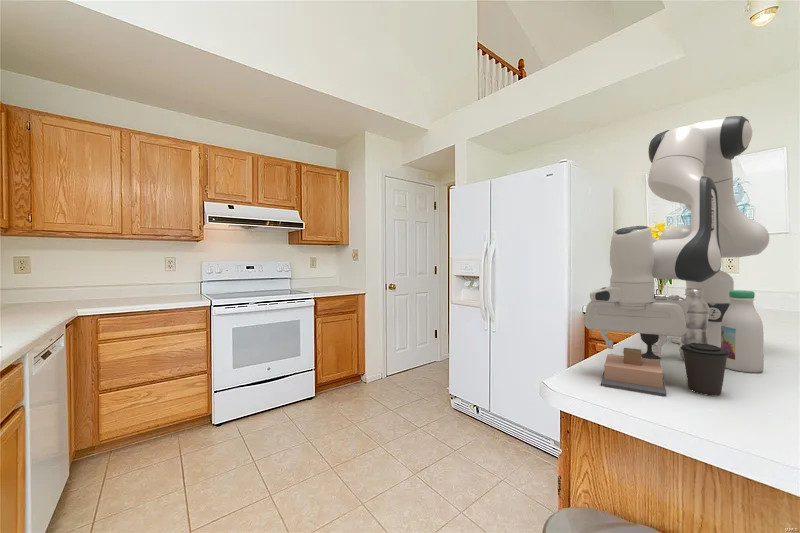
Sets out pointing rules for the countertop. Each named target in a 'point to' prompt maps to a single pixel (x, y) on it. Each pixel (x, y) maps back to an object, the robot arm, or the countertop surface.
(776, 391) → the countertop surface
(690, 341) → the plastic bottle
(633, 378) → the cover
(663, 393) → the mat
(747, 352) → the milk bottle
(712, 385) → the coffee cup
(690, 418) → the countertop surface
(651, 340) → the sundae
